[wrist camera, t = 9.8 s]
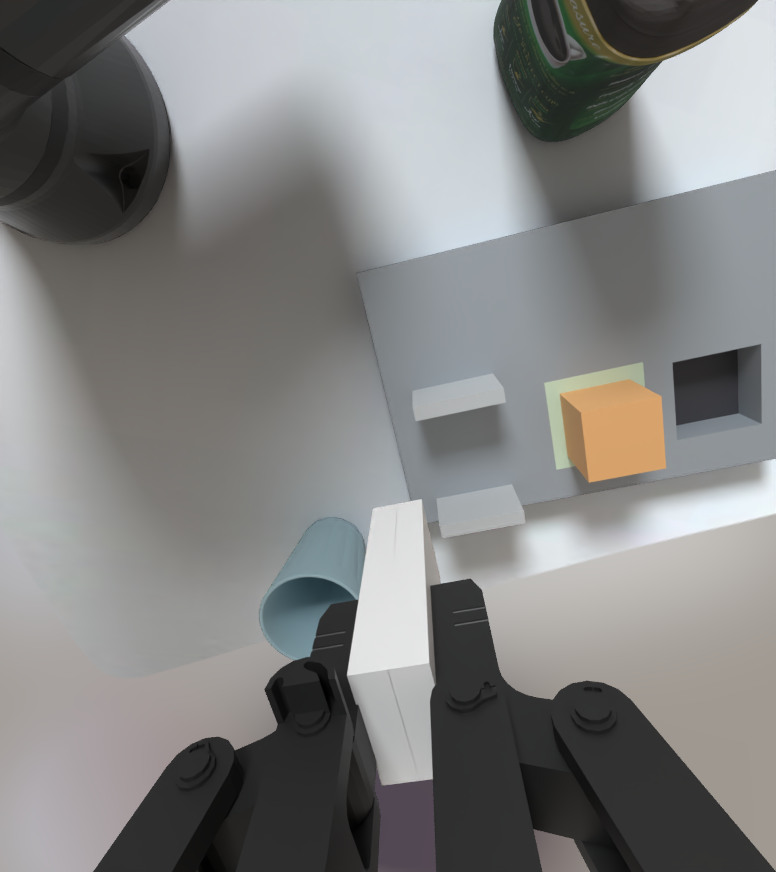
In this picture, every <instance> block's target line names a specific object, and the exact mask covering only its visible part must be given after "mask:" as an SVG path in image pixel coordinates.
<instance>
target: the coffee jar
mask: <svg viewBox="0 0 776 872" xmlns="http://www.w3.org/2000/svg"><path fill="white" fill-rule="evenodd" d="M757 1H758V0H502V1H501V3H500V5H499V8H498V11H497V14H496V17H495V22H494V35H493V36H494V43H495V48H496V54H497V57H498V61H499V65H500V69H501V72H502V75H503V78H504V81H505V84H506V87H507V90H508V92H509V95H510V97H511V100H512V103H513V105H514V107H515V109H516V111H517V113H518V115H519V117H520V119H521V120H522V122H523V124H524V126H525V127H526V129H527V130H528V131H529V132H530V133H531V134H532V135H534V136H535V137H536V138H538V139H540V140H543V141H548V142H558V141H563V140H566V139H570V138H572V137H575V136H577V135H579V134H581V133H583V132H585V131H587V130H589V129H591V128H593V127H595V126H597V125H598V124H600V123H601V122H603V121H605V120H606V119H607V118H609V117H610V116H611V115H613V114H614V113H615V112H616V111H617V110H619V109H620V108H621V107H622V106H623V105H624V104H625V103H626V102H627V101H628V100H629V99H630V98H631V97H632V95H633V94H634V93H635V92H636V91H637V90H638V89H639V88H640V86H641V85H642V84H643V83H644V82H645V81H646V79H647V78H648V77H649V76H650V75H651V73H652V72H653V71H654V70H655V69H656V68H657V67H658V66H659V64H660V63H661V62H662V61H663V60H666V59H669V58H671V57H674V56H676V55H678V54H681V53H683V52H685V51H687V50H689V49H691V48H693V47H695V46H697V45H699V44H701V43H702V42H704V41H706V40H707V39H709V38H711V37H712V36H714V35H715V34H717V33H719V32H720V31H722V30H723V29H724V28H726V27H727V26H729V25H730V24H732V23H733V22H734V21H736V20H737V19H738V18H740V17H741V16H742V15H744V14H745V13H746V12H747V11H748V10H749V9H750V8H751V7H752V6H753V5H754V4H755V3H756V2H757Z"/></svg>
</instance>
